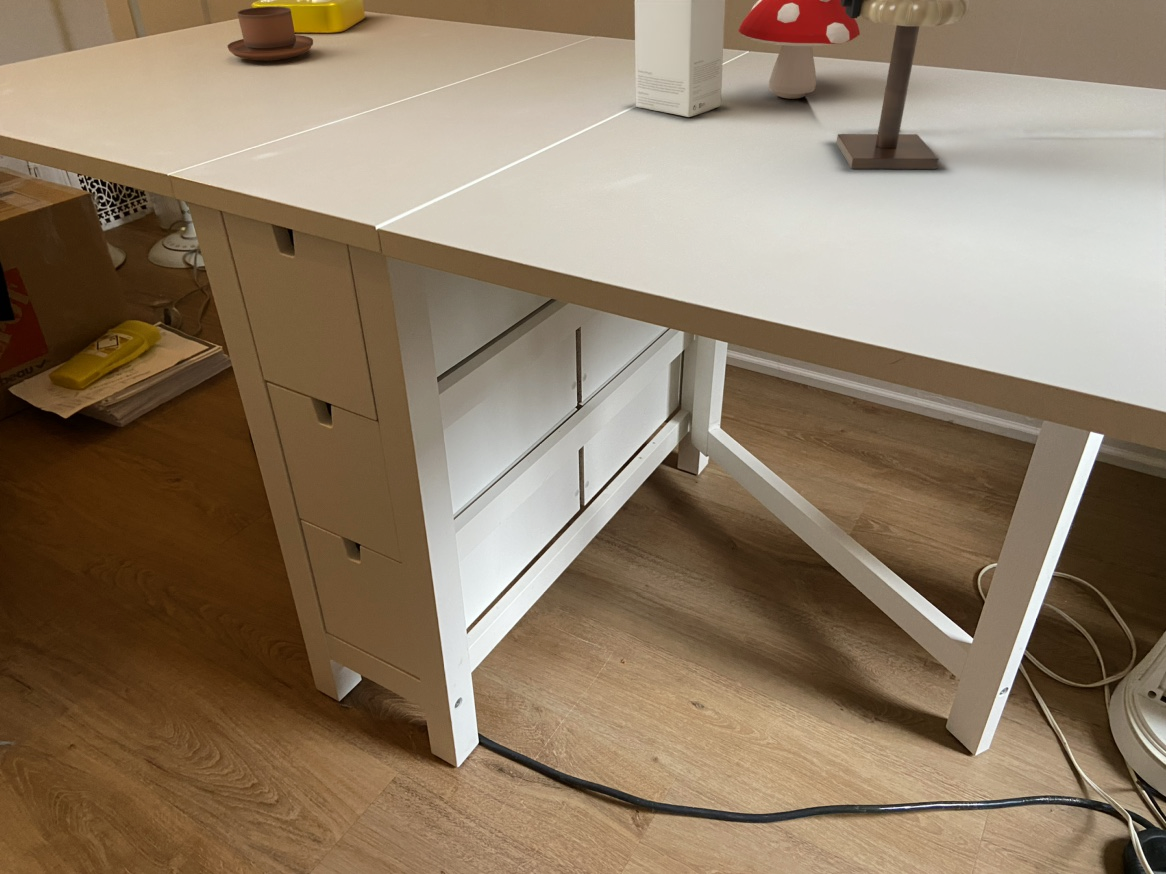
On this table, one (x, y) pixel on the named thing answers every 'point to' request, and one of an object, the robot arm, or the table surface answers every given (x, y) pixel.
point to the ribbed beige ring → (914, 11)
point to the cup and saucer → (268, 35)
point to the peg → (891, 119)
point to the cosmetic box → (679, 55)
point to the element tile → (320, 14)
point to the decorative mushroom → (797, 38)
